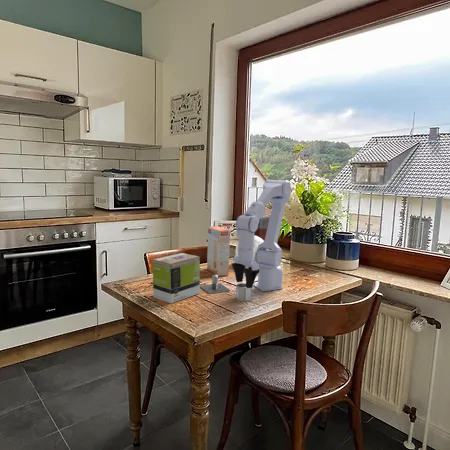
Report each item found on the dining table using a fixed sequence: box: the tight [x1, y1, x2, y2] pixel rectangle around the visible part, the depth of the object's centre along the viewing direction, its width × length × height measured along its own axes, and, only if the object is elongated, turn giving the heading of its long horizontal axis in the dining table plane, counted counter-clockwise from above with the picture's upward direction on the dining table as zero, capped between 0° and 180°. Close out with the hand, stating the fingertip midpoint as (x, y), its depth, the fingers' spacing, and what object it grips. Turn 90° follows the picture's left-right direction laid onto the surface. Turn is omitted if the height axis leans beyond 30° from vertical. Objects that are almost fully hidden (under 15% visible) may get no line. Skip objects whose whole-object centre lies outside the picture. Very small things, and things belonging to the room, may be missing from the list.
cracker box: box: [206, 225, 231, 277], centre depth 166 cm, size 14×6×21 cm, turn 22°
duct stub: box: [200, 274, 231, 295], centre depth 143 cm, size 9×9×6 cm
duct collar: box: [235, 282, 253, 302], centre depth 133 cm, size 6×6×5 cm
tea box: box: [152, 252, 201, 304], centre depth 133 cm, size 15×10×15 cm, turn 141°
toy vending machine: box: [254, 214, 270, 241], centre depth 201 cm, size 9×11×28 cm
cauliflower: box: [234, 236, 264, 269], centre depth 178 cm, size 20×18×16 cm
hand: (244, 284), depth 132 cm, fingers open, 7 cm apart
